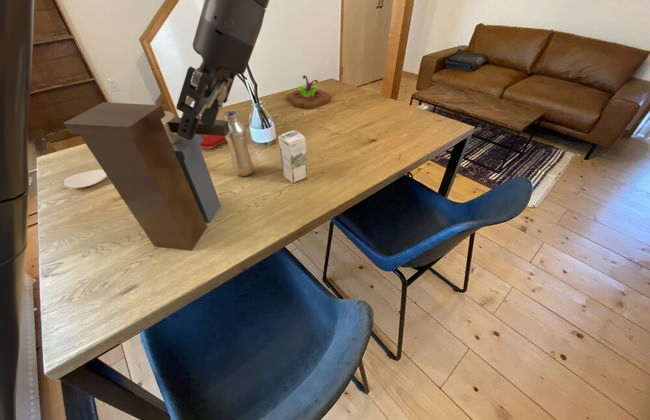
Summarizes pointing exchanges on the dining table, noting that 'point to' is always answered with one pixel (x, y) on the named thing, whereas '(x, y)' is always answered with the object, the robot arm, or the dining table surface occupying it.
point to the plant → (308, 96)
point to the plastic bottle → (238, 145)
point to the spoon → (85, 179)
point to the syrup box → (293, 156)
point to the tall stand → (143, 170)
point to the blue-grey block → (197, 175)
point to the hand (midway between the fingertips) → (196, 130)
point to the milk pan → (196, 130)
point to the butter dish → (211, 141)
